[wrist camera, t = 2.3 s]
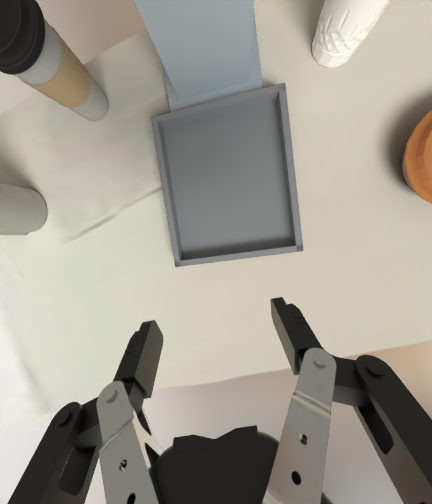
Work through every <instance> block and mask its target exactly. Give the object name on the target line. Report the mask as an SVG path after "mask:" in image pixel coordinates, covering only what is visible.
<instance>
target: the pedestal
mask: <svg viewBox="0 0 432 504" xmlns="http://www.w3.org/2000/svg"><path fill="white" fill-rule="evenodd" d="M133 1H134V3H135V5H136V7H137V10H138V11H139V14H140V16H141V18H142V20H143V22H144V24H145V27H146V29H147V31H148V33H149V35H150V38H151V40H152V42H153V44H154V46H155V48H156V51H157V53H158V55H159V57H160V59H161V61H162V64H163V70H164V76H165V83H166V89H167V95H168V102H169V108H170V112H173V111H177V110H181V109H185V108H189V107H193V106H196V105H200V104H204V103H208V102H212V101H216V100H220V99H223V98H227V97H231V96H235V95H239V94H243V93H246V92H250V91H254V90H258V89H262V88H263V84H262V76H261V67H260V59H259V50H258V42H257V33H256V25H255V16H254V8H253V1H254V0H133Z"/></svg>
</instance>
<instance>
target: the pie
mask: <svg viewBox="0 0 432 504" xmlns="http://www.w3.org/2000/svg"><path fill="white" fill-rule="evenodd" d="M401 166H402V173H403V177H404V179H405V181H406V183H407V185H408V186H409V187H410V188H411V189H413V190H414V191H415V192H416V193H417V194H418V195H419V196H420V197H421V198H422V199H424V200H426V201H428V202H430V203H432V110H430V111H429V112H428V113H427V114H426V115H425V116H424V117H423V118H422V120H421V121H420V122H419V123H418V124H417V125H416V127H415V128H414V130H413V132H412V134H411V135H410V137H409V139H408V141H407V143H406V148H405V152H404V154H403V159H402V165H401Z"/></svg>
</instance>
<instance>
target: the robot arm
mask: <svg viewBox="0 0 432 504" xmlns="http://www.w3.org/2000/svg"><path fill="white" fill-rule="evenodd" d="M46 217H47V207H46V204H45V201H44V199H43V197H42V196H41V195H40V194H39V193H38V192H37V191H35V190H33V189H30V188H25V187H21V186H16V185H11V184H7V183H3V182H0V235H27V234H28V233H29V232H32V231H36V230H38V229H39V228H41V227H42V226H43V224H44V222H45V220H46ZM271 314H272V319H273V323H274V325H275V328H276V330H277V333H278V336H279V338H280V341H281V343H282V346H283V348H284V351H285V353H286V356H287V358H288V361H289V363H290V366H291V368H292V371H293V373H294V375H298V374H299V378H298V382H297V385H296V389H295V392H294V393H293V395H292V398H291V402H290V405H289V409H288V413H287V417H286V421H285V424H284V428H283V432H282V435H281V439H280V442H279V441H278V440H276V439H274V438H273V437H272V436H270V435H268V434H265V433H262V432H258V430H257V426H249V427H242V428H236V429H234V430H232V431H230V432H228V433H227V434H224V435H222V436H221V437H219V438H217V439H210V438H205V437H202V436H197V435H189V436H182V437H175V438H174V441H173V445H172V446H171V447H169V448H168V449H167V450H165V451H164V452H163V451H162V449H161V447H160V446H159V444H158V442H157V441H156V438H155V436H154V434H153V431H152V429H151V426H150V423H149V421H148V418H147V416H146V413H145V411H144V408H143V406H142V404H143V400H144V399H146V398H151V395H152V390H153V386H154V381H155V377H156V372H157V368H158V363H159V359H160V354H161V350H162V345H163V335H162V333H161V331H160V329H159V327H158V325H157V323H156V321H155V320H152V321H147V322H143V323H142V324H141V327H140V330H139V331H137V332H135V333H134V335H133V336H132V337H131V339H130V341H129V343H128V346H127V348H126V351H125V353H124V355H123V358H122V360H121V363H120V365H119V368H118V370H117V373H116V375H115V378H114V380H113V382H112V383H110V384H109V385H107V386H106V387H105V388H104V389H103V391H102V392H101V393H100V395H99V397H97V398H95V399H93V400H91V401H89V402H87V403H85V404H83V405H80V404H79V403H78V402H72V403H69V404H67V405H66V406H64V407H63V408H62V409H61V410H60V411H59V412H58V413H57V414H56V415H55V416H54V418H53V419H52V421H51V423H50V425H49V427H48V429H47V430H46V432H45V434H44V436H43V438H42V440H41V442H40V444H39V446H38V447H37V449H36V451H35V453H34V455H33V457H32V459H31V460H30V462H29V464H28V466H27V468H26V470H25V472H24V474H23V476H22V478H21V479H20V481H19V483H18V485H17V487H16V489H15V491H14V492H13V495H12V496H11V498H10V500H9V502H8V504H84V503H85V499H86V496H87V493H88V490H89V487H90V483H91V480H92V477H93V474H94V471H95V467H96V464H97V461H98V458H99V459H100V465H101V471H102V478H103V484H104V490H105V497H106V504H333V503H332V502H331V501H330V500H329V499H328V497H327V496H326V495H325V494H324V493H323V492H322V486H323V478H324V470H325V462H326V453H327V445H328V437H329V429H330V421H331V406H332V401H334V402H338V403H342V404H347V405H351V406H353V408H354V410H355V412H356V413H357V415H358V417H359V419H360V421H361V423H362V425H363V427H364V429H365V430H366V432H367V434H368V436H369V438H370V440H371V442H372V444H373V446H374V448H375V450H376V452H377V454H378V455H379V457H380V459H381V461H382V463H383V465H384V467H385V469H386V471H387V472H388V475H389V476H390V478H391V480H392V482H393V484H394V486H395V488H396V489H397V492H398V494H399V496H400V497H401V499H402V501H403V503H404V504H432V420H431V418H430V417H429V416H428V414H427V413H426V412H425V411H424V409H423V408H422V407H421V405H420V404H419V403H418V402H417V401H416V399H415V398H414V397H413V395H412V394H411V393H410V392H409V390H408V389H407V388H406V387H405V385H404V384H403V383H402V381H401V380H400V379H399V378H398V376H397V375H396V374H395V373H394V371H393V370H392V369H391V368H390V367H389V366H388V365H387V364H386V363H385V362H384V361H382V360H381V359H379V358H377V357H374V356H370V355H362V356H359V357H358V358H357V360H350V359H344V358H339V357H335V356H333V355H331V354H329V353H328V352H327V351H325V350H324V349H323V348H322V346H321V345H320V343H319V341H318V340H317V338H316V336H315V335H314V333H313V331H312V330H311V328H310V326H309V325H308V323H307V321H306V320H305V318H304V317H303V315H302V313H301V311H300V310H299V309H298V308H297V307H296V306H295V305H293V304H287V305H286V303H285V301H284V299H283V298H282V297H279V298H274V299H271ZM102 445H103V446H102ZM71 450H72V451H71ZM70 452H71V453H70ZM68 457H69V458H68ZM66 462H67V463H66ZM65 464H66V465H65ZM64 467H65V468H64ZM63 469H64V470H63ZM61 474H62V475H61Z"/></svg>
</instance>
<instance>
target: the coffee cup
mask: <svg viewBox="0 0 432 504" xmlns="http://www.w3.org/2000/svg"><path fill="white" fill-rule="evenodd" d="M0 71H1V72H3V73H6V74H12V75H15V76H17V77H18V78H20V79H21V80H22V81H23V82H24V83H26V84H28V85H29V86H31V87H33V88H34V89H36V90H38V91H39V92H41V93H43V94H44V95H46V96H48V97H49V98H51V99H53V100H54V101H56V102H58V103H59V104H61V105H63V106H65V107H68V108H69V109H71V110H73V111H74V112H76V113H78V114H79V115H81V116H83V117H84V118H86V119H88V120H90V121H99V120H101V119H102V118H104V117H105V115H106V113H107V110H108V100H107V97H106V95H105V94H104V92H103V91H102V90H101V88H100V87H99V86H98V85H97V83H96V82H95V81H94V80H93V78H92V77H91V76H90V75H89V73H88V71H87V70H86V68H85V67H84V66H83V64H82V63H81V62H80V61H79V59H78V58H77V57H76V56H75V54H74V53H73V52H72V51H71V49H70V48H69V47H68V46H67V45H66V43H65V42H64V41H63V39H62V38H61V37H60V36H59V34H58V33H57V32H56V31H55V29H54V28H52V27H51V26H50V25H49V24H48V23H47V21H46V20H45V19H44V17H43V13H42V11H41V9H40V7H39V5H38V3H37V2H36V1H35V0H0Z"/></svg>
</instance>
